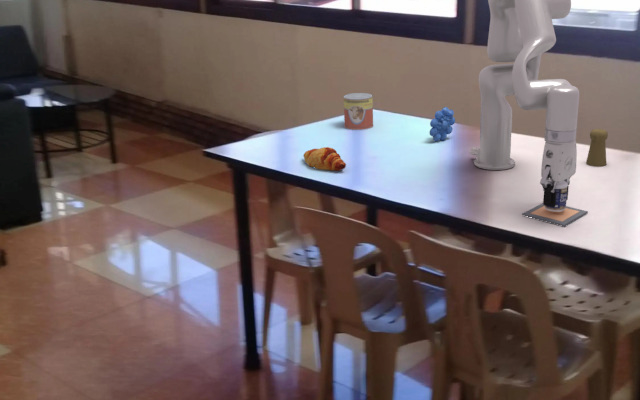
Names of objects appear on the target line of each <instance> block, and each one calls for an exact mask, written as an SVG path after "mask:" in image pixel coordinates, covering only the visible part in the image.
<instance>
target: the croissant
mask: <svg viewBox="0 0 640 400" xmlns="http://www.w3.org/2000/svg"><path fill="white" fill-rule="evenodd" d="M303 159H304V162H305V163H306V165H308V167H309V168H312V167H315V168H316V170H322V171H325V170H326V171H330V172H332V171H333V172H339V171H342V170H344V169H345V168H346V165H347V164H346V162H345V161H344V160H343V159H342V158H341V155H340V154H339V153H338V152H337V150H336V149H334V148H333V147H329V146H327V147H320V148H312V149H310V150H307V151H305V152H304V153H303ZM315 168H314V169H315Z"/></svg>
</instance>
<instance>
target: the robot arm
mask: <svg viewBox="0 0 640 400" xmlns="http://www.w3.org/2000/svg"><path fill="white" fill-rule="evenodd" d="M487 1H488V2H487V3H488V6H489V7H488V8H489V13H490V21H489V26H488V27H489V29H488V30H489V31H488V37H487V38H488V39H487V57H488V59H489V60H491V62H495V63H497V64H491V65H488V66H485V67H484V68H482V69H481V70H480V72H479V75H478V86H479V87H478V88H479V93H480V134H479V148H478V147H474V146H472V147H471V149H470V152H469V154H470V155H471V156H476V158H475V159H474V160H473V161H474V163H473V164H474V165H475V166H476V167H477V168H480V169H484V170H488V171H502V170H509V169H513V167H515V166H516V161H515V159H513V158H511V149H512V128H513V108H512V106H511V105H510V103H509V102H508V100H507V99H506V97H509V96H514V97H515V100H516V104H517V105H518V107H519V108H520V109H521V110H524V111H537V110H546V111H545V129H544V142H545V143H544V147H543V153H542V159H541V167H540V168H541V171H540V173H541V174H540V176H541V179H540V181H539V185H541V186H542V191H543V199H542V200H543V201H542V203H543V204H544V205H546V206H550V207H555V205H556V192H555V189H556V184H557V183H559V182H561V181H563V180H565V181H566V182H567V184H568V188H567V200H568V199H569V197H568V196H569V187H570V186H569V185H570V183H571V180H570V179H571V178H572V177H573V176H574V175H575V174H576V172H577V156H578V155H577V154H578V153H577V151H578V150H577V140H576V139H577V130H578V129H577V128H578V115H579V105H580V104H579V103H580V90H579V88H578V87H577V86H574V85H572V84H571V83H570V82H569V81H568V80H567V79H564V78H553V79H552V78H551V79H550V78H549V79H539V72H540V65H541V60H542V54H544V53H546V52H547V51H549V50H551V49H552V48H553V47H554V46H555V44H556V42H557V37H556V33H555V27H554V24H553V20H560V19H561V20H562V19H564V18H566V17H567V16H569V14H570V12H571V9H572V1H571V0H487ZM498 63H499V64H498ZM549 177H552V179H553V180H551V179H549ZM549 182H553V184H552V186H551V185H550V184H549Z"/></svg>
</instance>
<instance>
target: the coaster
mask: <svg viewBox="0 0 640 400" xmlns="http://www.w3.org/2000/svg"><path fill="white" fill-rule="evenodd" d="M588 213H589V212H588V210H583V209H580V208H576V207H571V206H568V205H566V209H565V210H564V211H562V212H552V211H548V210H546V209H545V208H544V204H543V202H542V203H540V204H538V205H536V206H534V207H532V208H530V209H528V210H527V211H524V212H523V213H522V214H521V215H525V216H528V217H527V218H529V217H532V218H531V219H533V218H535V219H534V220H536V219H539V220H538V221H540V220H543V221H542V222H544V221H547V222H546V223H548V222H551V223H550V224H552V223H555V224H558V225H557V226H559V225H562V226H561V227H563V226H565V227H566V225H567V226H568V224H569V225H570V224H572V223H573V222H575V221H577V220H580V219H581V218H582V217H585V216H587V214H588ZM525 216H524V217H525ZM555 224H554V225H555Z"/></svg>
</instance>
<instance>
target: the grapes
mask: <svg viewBox="0 0 640 400" xmlns="http://www.w3.org/2000/svg"><path fill="white" fill-rule="evenodd" d="M454 115H455V112H454V110H453V109H449V107H447V106H445V107H442V109H441V110H437V111H436V112H435V113H434V118H433V119H431V120H430V122H429V126H430V127H431V128H430V130H429V135H430V136H431V137H432V139H433V141H434V142H438V141H445V140H446V139H447V137H448V135H451V134H452V132H453V129H454V128H453V127H452V126H454V125H455V123H456V118H455V117H454Z"/></svg>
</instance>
